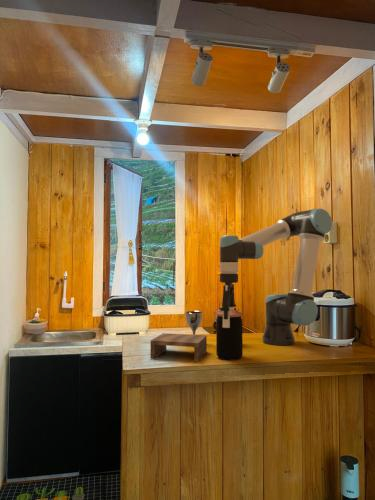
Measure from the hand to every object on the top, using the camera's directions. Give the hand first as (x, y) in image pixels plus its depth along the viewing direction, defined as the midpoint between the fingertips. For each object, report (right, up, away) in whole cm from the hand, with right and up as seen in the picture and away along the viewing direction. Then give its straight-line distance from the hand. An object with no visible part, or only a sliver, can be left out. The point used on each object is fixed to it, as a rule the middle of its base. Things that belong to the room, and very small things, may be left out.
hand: (228, 324), depth 152 cm
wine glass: (-14, -14, +25) cm, 32 cm away
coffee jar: (0, -13, 0) cm, 13 cm away
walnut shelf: (-20, -13, +4) cm, 25 cm away
